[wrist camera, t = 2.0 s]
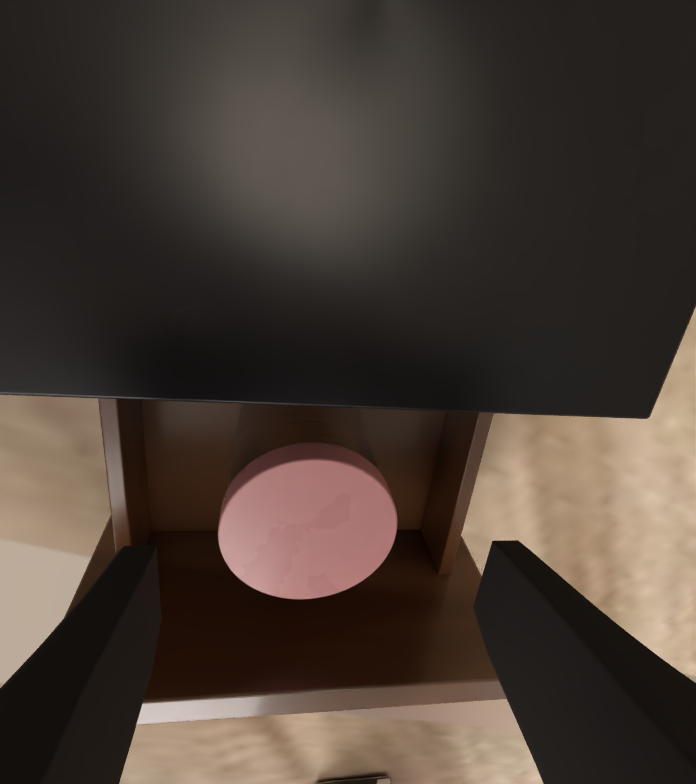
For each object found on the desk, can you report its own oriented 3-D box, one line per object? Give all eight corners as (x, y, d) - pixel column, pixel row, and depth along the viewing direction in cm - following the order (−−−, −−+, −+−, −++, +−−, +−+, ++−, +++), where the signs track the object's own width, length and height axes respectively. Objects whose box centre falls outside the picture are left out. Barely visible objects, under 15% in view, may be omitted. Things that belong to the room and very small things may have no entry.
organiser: (493, 311, 18) (650, 420, 11) (91, 281, 16) (-76, 393, 8) (608, -166, 13) (1091, -633, 5) (27, -322, 10) (-621, -1591, 3)
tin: (271, 505, 18) (271, 622, 14) (207, 408, 16) (181, 508, 12) (383, 455, 18) (422, 557, 13) (332, 350, 16) (357, 428, 11)
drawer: (429, 587, 23) (496, 769, 16) (122, 595, 21) (48, 813, 14) (515, 237, 17) (689, 293, 10) (78, 191, 14) (-109, 221, 7)
